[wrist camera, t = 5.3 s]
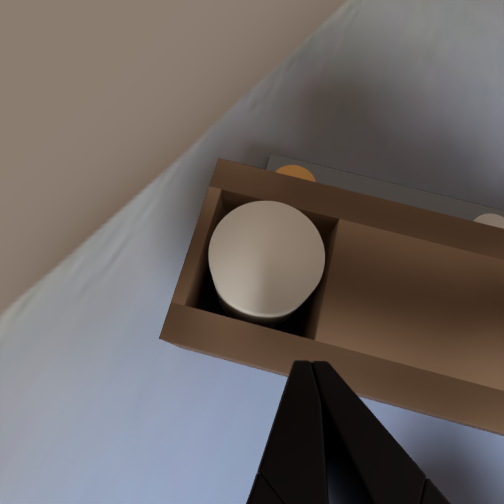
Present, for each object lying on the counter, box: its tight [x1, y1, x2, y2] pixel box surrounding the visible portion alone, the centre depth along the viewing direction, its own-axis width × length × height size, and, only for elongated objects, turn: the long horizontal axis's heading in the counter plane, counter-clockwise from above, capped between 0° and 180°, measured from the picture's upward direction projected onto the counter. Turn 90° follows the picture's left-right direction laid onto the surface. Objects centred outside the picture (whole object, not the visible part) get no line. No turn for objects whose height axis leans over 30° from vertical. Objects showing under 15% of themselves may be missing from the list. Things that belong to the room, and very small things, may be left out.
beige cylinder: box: [208, 201, 325, 328], centre depth 19 cm, size 5×5×6 cm
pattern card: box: [266, 153, 504, 229], centre depth 24 cm, size 4×17×1 cm, turn 76°
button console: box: [159, 158, 504, 436], centre depth 20 cm, size 9×21×6 cm, turn 75°
